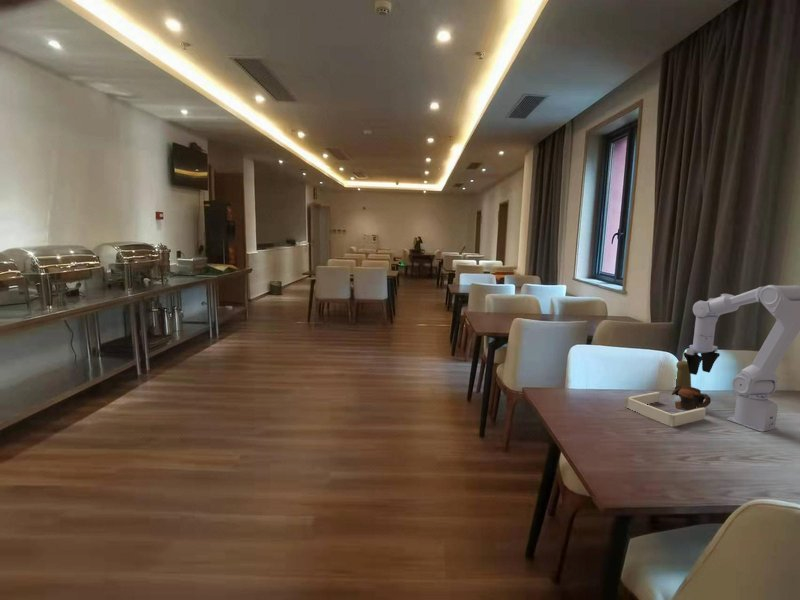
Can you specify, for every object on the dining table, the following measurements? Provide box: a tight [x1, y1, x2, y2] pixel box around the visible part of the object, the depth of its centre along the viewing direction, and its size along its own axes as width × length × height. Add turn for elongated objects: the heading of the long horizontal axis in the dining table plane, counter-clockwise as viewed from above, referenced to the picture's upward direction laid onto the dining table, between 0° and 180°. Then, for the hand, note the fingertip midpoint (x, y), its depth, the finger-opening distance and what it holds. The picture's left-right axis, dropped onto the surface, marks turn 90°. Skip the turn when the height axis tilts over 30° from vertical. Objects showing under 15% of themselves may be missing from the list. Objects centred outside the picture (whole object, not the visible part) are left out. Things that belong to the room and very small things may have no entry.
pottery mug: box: [671, 386, 712, 411], centre depth 142 cm, size 12×10×8 cm
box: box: [624, 391, 707, 428], centre depth 136 cm, size 16×16×4 cm
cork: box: [676, 360, 692, 387], centre depth 159 cm, size 6×6×11 cm
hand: (699, 372), depth 147 cm, fingers open, 7 cm apart
